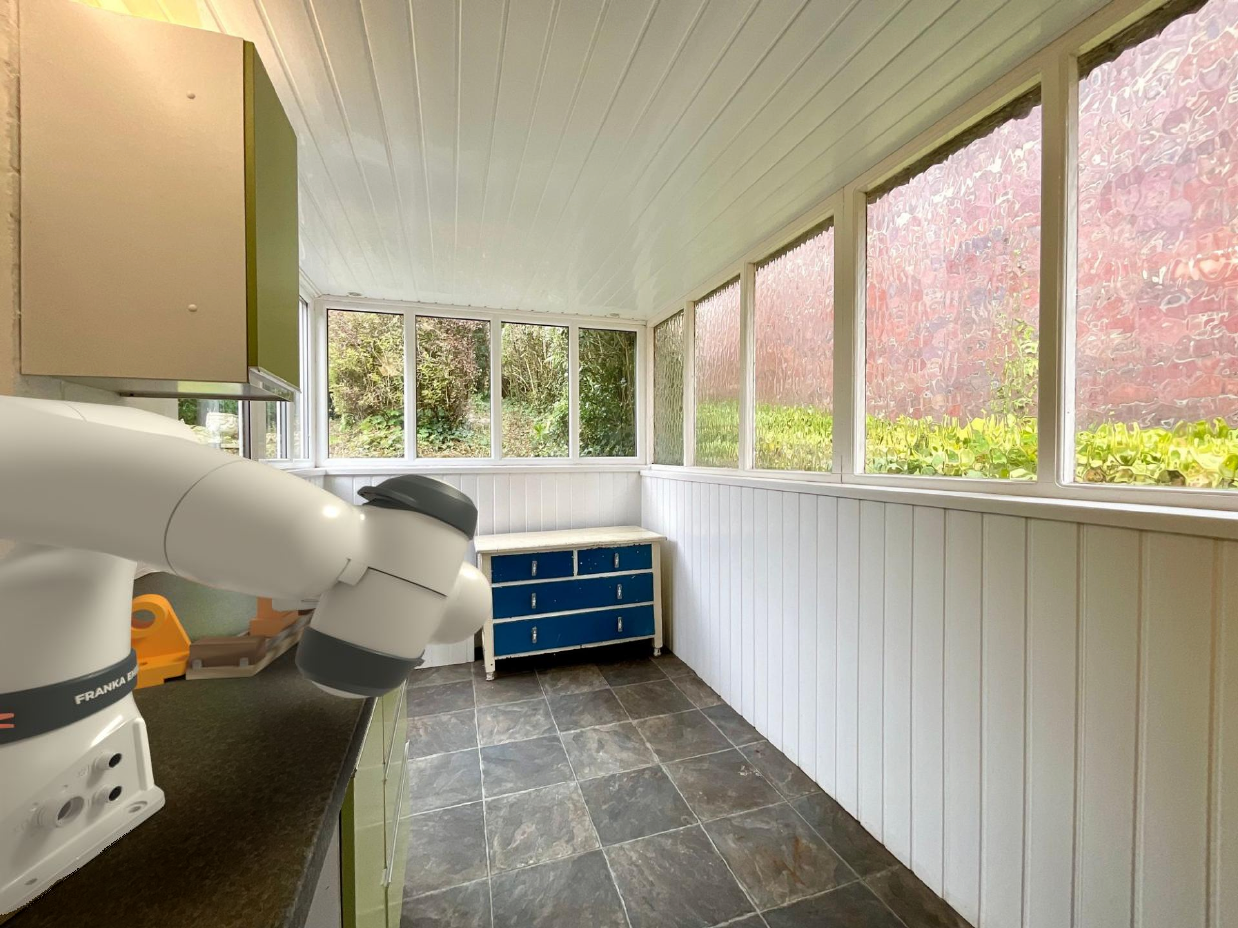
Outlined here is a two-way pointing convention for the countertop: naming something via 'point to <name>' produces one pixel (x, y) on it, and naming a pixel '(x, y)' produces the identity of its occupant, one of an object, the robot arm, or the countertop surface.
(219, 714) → the countertop surface
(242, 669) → the rail board
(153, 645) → the bracket
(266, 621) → the slider
